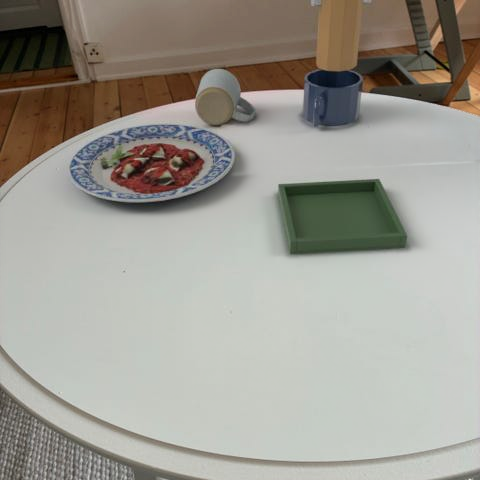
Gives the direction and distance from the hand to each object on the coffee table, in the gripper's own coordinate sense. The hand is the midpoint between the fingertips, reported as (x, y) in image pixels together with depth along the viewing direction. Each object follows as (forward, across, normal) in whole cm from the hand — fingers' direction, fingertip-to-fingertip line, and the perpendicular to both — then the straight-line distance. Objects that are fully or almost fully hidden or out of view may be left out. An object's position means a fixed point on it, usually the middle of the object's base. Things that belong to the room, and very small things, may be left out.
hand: (340, 4), depth 86 cm
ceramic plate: (+18, +31, +17) cm, 40 cm away
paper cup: (+9, 0, 0) cm, 9 cm away
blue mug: (+18, +1, +1) cm, 18 cm away
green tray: (+18, +5, +34) cm, 39 cm away
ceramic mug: (+18, +19, -2) cm, 27 cm away
